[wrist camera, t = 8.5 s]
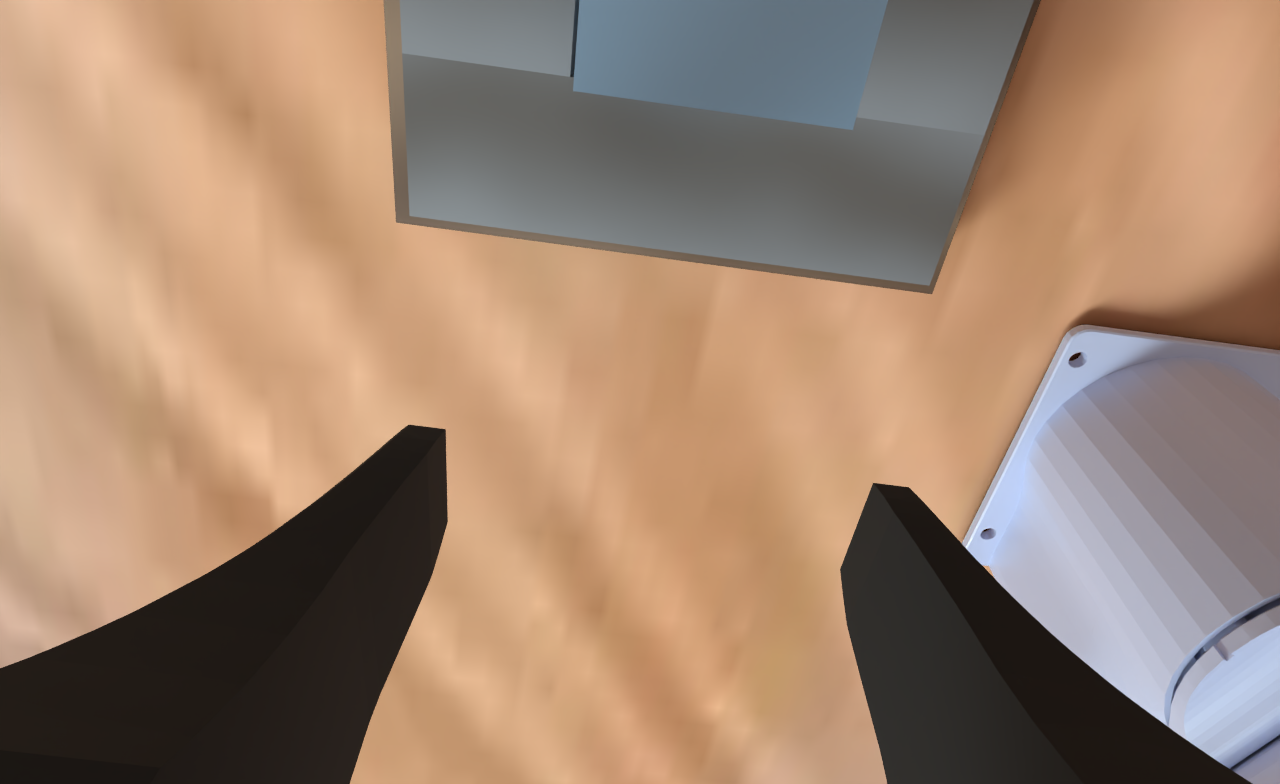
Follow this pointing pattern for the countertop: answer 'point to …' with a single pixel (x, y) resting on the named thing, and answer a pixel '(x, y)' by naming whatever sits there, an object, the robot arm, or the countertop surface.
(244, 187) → the countertop surface
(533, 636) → the countertop surface
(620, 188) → the socket block
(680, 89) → the blue peg
